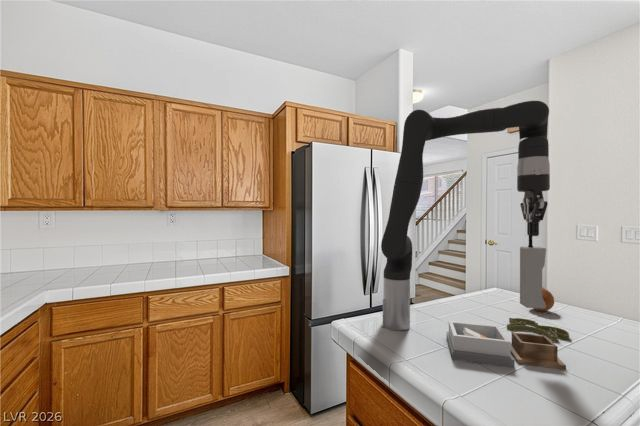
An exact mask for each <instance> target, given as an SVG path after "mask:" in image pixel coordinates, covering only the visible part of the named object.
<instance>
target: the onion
mask: <svg viewBox="0 0 640 426" xmlns="http://www.w3.org/2000/svg"><path fill="white" fill-rule="evenodd" d="M542 298H543V300H544V302H545V304H546V308H545V309H542V308H532V309H533V310H536V311H539V312H541V313H542V312H547V311H548V310H551V309H552V308H553V307H554V304H555V297H554V296H553V294H552V293H551V291H550V290H549V289H547V288H545V287H543V286H542Z"/></svg>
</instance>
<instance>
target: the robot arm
mask: <svg viewBox="0 0 640 426" xmlns="http://www.w3.org/2000/svg"><path fill="white" fill-rule="evenodd" d="M549 114H550V108H549V106H548V104H546V102H543V101H540V100H527V101H521V102H518V103H517V102H516V103H514V104H509V105H507V106H502V107H500V106H499V107H490V108H483V109H477V110H471V111H469V112H466V113H463V114H459V115H455V116H448V117H434V116H432V115H431V114H430V113H429V112H428V111H426V110H424V109H416V110H415V109H414V110H413V111H411V112H410V113H409V114H408V116H407V117H406V118H405V120H404V125H403V131H402V132H403V133H402V143H401V144H402V145H401V152H400V157H399V161H398V166H397V170H396V176H395V179H394V184H393V190H392V197H391V201H390V208H389V214H388V219H387V222H386V226H385V230H384V233H383V235H382V238H381V242H380V249H381V252H382V254H383V256H384V257H385V258H386V263H385V266H384V269H383V299H382V328H387V329H389V330H392V331H407V330H409V329H410V327H411V272H412V269H413V268H412V267H413V241H412V239H411V238H410V237H409V235H408V232H409V231H408V230H409V225H410V223H411V219H412V216H413V214H414V212H415V210H416V208H417V206H418V203H419V200H420V197H421V193H422V189H423V182H424V161H423V160H424V159H423V157H424V150H425V149H424V148H425V145H426V141H431V140H435V139H440V138H445V137H451V136H457V135H468V134H483V133H484V134H485V133H499V132H504V131H505V130H506V129H514V128H518V132H519V134H518V135H519V142H518V148H517V149H518V150H517V153H518V154H517V155H518V157H517V160H518V161H517V167H516V171H517V172H516V174H517V175H516V179H517V180H516V181H517V183H516V185H517V186H516V187H517V189H516V191H517V192H520V193H524V195H523V198H522V202H521V203H520V205H519V206H520V208H521V212H522V216H523V220H525V222H526V225H527V226H526V227H527V228H526V229H527V231H526V232H527V233H526V234H527V235H528V236H529V235H530V236H532V237H538V236H539V235H540V223H541V221H543V220H544V217H545V213H546V210H547V207H548V201H546V200H545V199H544V194H543V192H548V191H550V189H551V187H550V186H551V184H550V183H551V182H550V180H551V177H550V176H551V172H550V171H551V169H550V160H549V159H550V157H549V153H550V152H549V145H550V144H549V140H548V126H549V125H548V123H549V116H550V115H549ZM529 222H531V223H529Z"/></svg>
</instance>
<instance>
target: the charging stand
mask: <svg viewBox="0 0 640 426" xmlns="http://www.w3.org/2000/svg"><path fill="white" fill-rule="evenodd" d="M558 349H559V347H558V346H557V344H555V342H554V341H551V340H550V339H549V338H548V337H546V336H544V335H542V334H535V333H534V334H533V333H524V332H514V331H511V356H512V357H513V358H514V360H515V362H516V363H517V364H522V365H529V366H537V367H546V368H551V369H552V368H553V369H559V370H566V369H567V365H566V364H565V363H564V362H563V361H562V360H561V359H560V358H559V357H558Z"/></svg>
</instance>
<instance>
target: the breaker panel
mask: <svg viewBox="0 0 640 426" xmlns="http://www.w3.org/2000/svg"><path fill="white" fill-rule="evenodd" d="M464 327H465V328H468V329H470V330H472V331H474V332H476V333H478V334H481V335H483V336H485V337H487V338H482V337H474V336H465V335H464V333H463V330H464ZM446 342H447V344H448V345H447V346H448V349H449V352H450V356H451V359H452V360H455V361H456V360H457V361H462V362H472V363H478V364H479V363H480V364H485V365H493V366H500V367H509V368H515V362H516V360H515V359H514V358H513V356H512V355H511V343H512V341H511V340H509V338H508V337H507V335H506V333H504V331H503V330H502V328H501V327H500V326H499V325H493V324H492V325H491V324H481V323H472V322H463V321H454V320H449V321H448V331H446Z"/></svg>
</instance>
